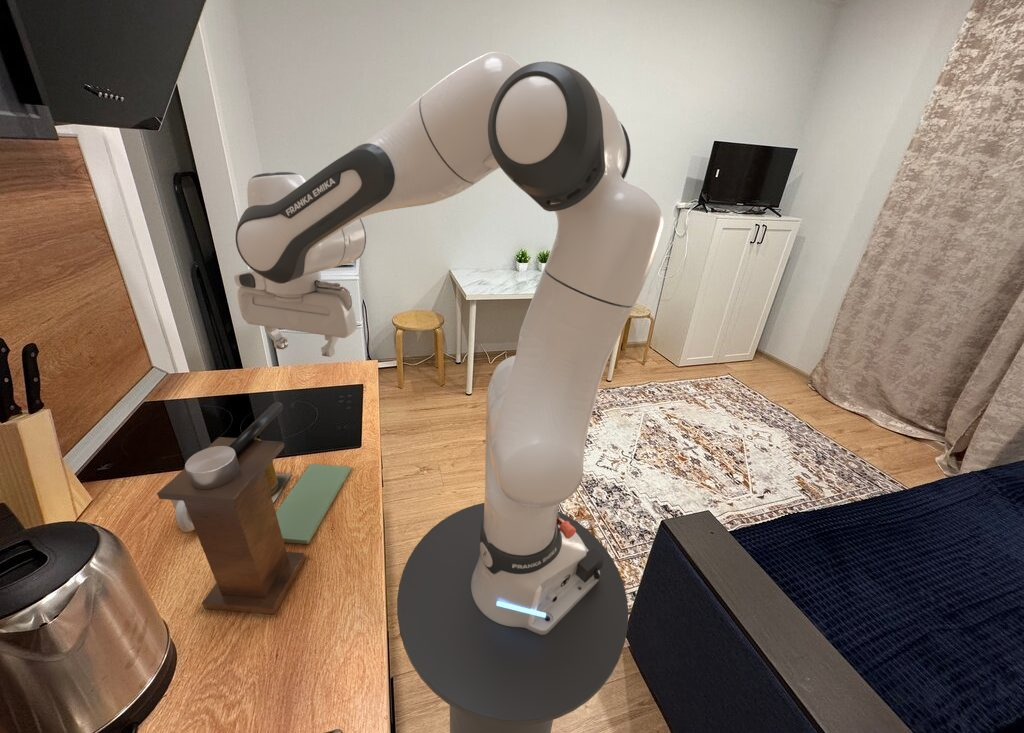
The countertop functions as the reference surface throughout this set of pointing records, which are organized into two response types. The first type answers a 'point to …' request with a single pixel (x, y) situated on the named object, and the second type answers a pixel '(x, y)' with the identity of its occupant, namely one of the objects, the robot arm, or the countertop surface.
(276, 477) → the condiment
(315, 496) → the mat
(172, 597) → the countertop surface
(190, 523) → the cup
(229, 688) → the countertop surface
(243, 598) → the stand
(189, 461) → the measuring scoop
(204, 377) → the countertop surface
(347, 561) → the countertop surface
